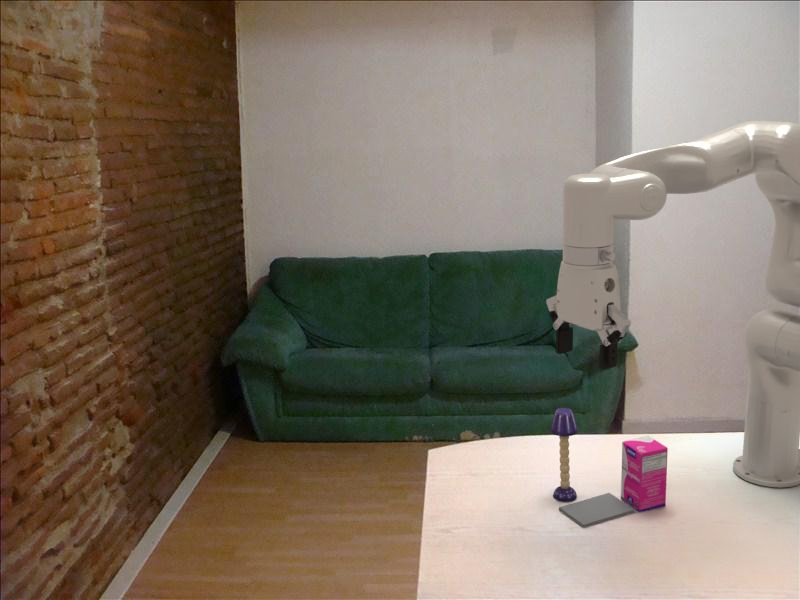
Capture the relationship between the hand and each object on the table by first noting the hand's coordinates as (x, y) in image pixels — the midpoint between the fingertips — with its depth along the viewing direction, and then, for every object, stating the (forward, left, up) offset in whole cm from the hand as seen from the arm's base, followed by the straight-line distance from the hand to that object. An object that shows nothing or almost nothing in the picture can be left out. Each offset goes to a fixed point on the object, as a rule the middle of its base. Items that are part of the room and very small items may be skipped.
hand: (585, 359), depth 139 cm
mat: (-6, -4, -30) cm, 31 cm away
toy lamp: (-4, -11, -30) cm, 33 cm away
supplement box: (-15, -2, -30) cm, 34 cm away
